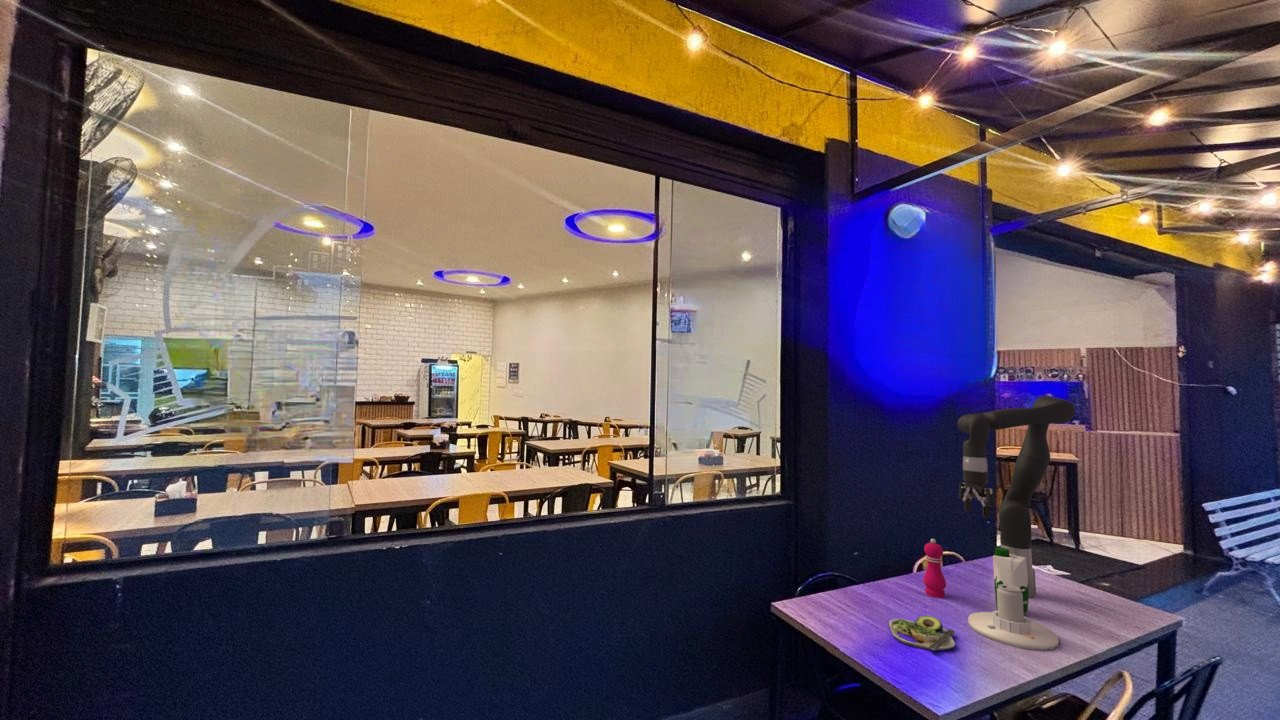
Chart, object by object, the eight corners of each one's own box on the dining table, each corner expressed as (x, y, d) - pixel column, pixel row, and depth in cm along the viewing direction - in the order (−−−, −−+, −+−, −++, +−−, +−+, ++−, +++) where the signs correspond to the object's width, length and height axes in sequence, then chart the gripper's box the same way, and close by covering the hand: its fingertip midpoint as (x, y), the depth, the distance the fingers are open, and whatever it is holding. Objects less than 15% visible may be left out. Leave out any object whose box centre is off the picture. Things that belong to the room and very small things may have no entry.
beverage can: (1000, 621, 155) (998, 581, 156) (1026, 628, 150) (1024, 587, 151) (996, 627, 150) (994, 586, 152) (1022, 634, 146) (1020, 592, 147)
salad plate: (967, 662, 133) (966, 644, 133) (893, 649, 139) (892, 632, 140) (952, 632, 150) (951, 616, 151) (887, 621, 157) (886, 606, 158)
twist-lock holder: (1014, 616, 162) (1013, 602, 163) (1079, 649, 141) (1078, 632, 141) (952, 617, 160) (951, 603, 161) (1008, 651, 139) (1007, 634, 139)
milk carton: (999, 603, 173) (997, 545, 175) (1031, 612, 166) (1028, 551, 168) (992, 610, 167) (990, 549, 169) (1025, 619, 160) (1022, 556, 162)
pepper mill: (919, 592, 182) (917, 537, 184) (932, 589, 185) (930, 535, 187) (938, 599, 175) (936, 542, 177) (951, 596, 178) (949, 540, 180)
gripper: (951, 466, 186) (953, 510, 185) (980, 471, 172) (982, 519, 171) (969, 466, 187) (971, 510, 185) (1000, 472, 173) (1002, 519, 171)
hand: (977, 514), depth 178 cm, fingers open, 8 cm apart
